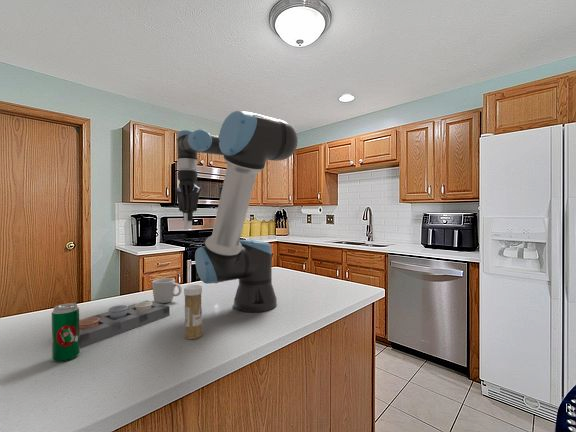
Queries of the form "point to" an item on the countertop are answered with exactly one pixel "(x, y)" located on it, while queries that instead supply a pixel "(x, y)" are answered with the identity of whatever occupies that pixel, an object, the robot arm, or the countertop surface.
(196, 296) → the sprinkles bottle
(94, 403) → the countertop surface
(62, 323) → the soda can
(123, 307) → the slate button
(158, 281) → the cup
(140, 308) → the cream button
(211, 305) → the countertop surface
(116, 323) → the button panel
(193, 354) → the countertop surface
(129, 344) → the countertop surface
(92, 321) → the terracotta button
